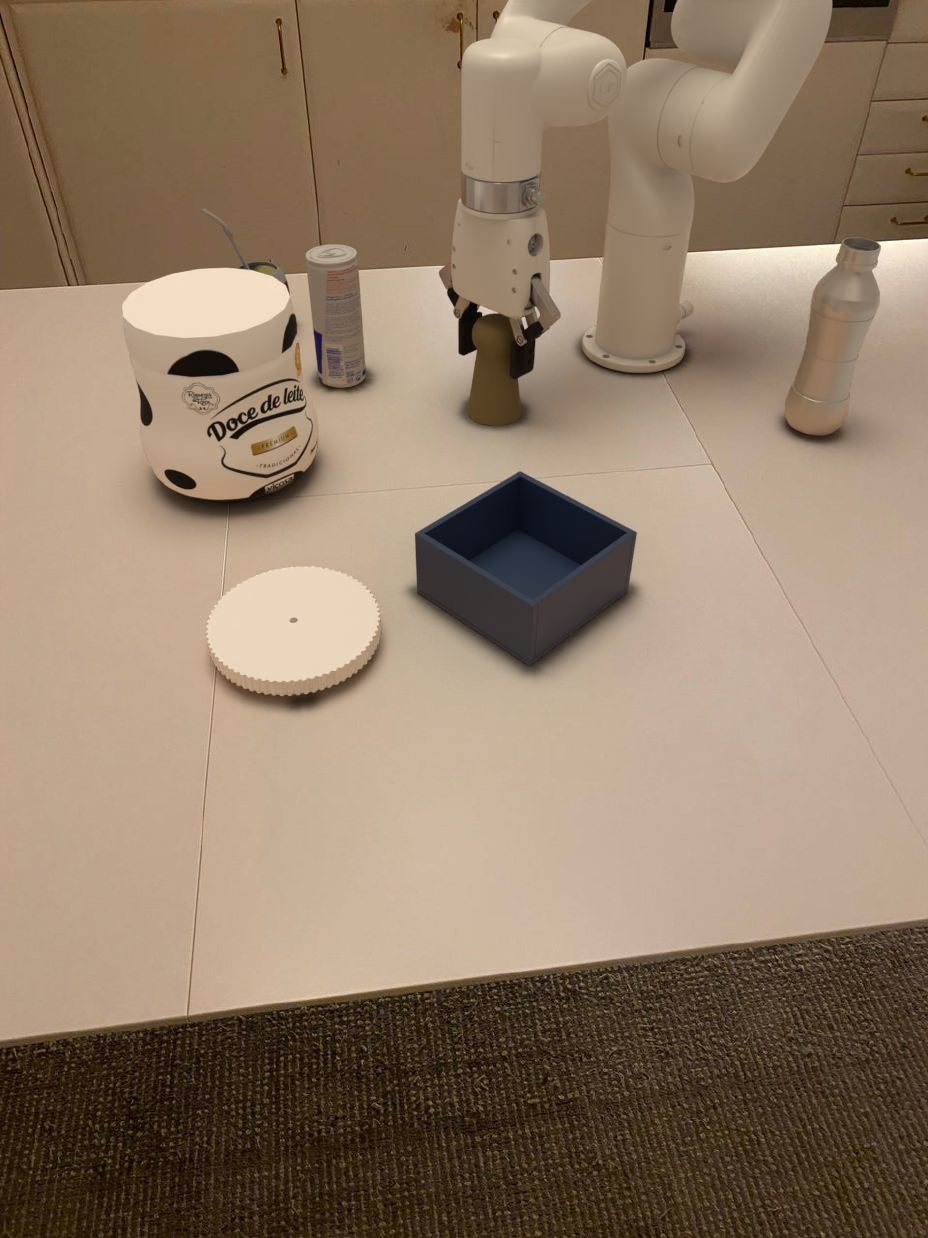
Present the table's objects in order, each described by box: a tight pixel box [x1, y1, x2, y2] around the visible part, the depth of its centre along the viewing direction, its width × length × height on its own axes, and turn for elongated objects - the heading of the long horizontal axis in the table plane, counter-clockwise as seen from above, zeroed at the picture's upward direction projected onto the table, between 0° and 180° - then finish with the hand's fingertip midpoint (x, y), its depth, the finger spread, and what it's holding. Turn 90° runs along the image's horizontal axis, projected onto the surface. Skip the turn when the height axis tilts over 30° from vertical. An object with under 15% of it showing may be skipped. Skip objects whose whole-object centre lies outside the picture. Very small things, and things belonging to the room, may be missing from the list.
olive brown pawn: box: [467, 312, 522, 427], centre depth 103 cm, size 6×6×11 cm
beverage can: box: [305, 243, 367, 389], centre depth 107 cm, size 6×6×15 cm
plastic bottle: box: [783, 236, 882, 437], centre depth 98 cm, size 6×7×20 cm
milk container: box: [121, 267, 319, 503], centre depth 92 cm, size 17×17×18 cm
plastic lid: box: [205, 565, 382, 697], centre depth 78 cm, size 14×14×2 cm
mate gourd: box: [201, 207, 291, 296], centre depth 117 cm, size 8×8×15 cm
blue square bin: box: [414, 470, 638, 667], centre depth 82 cm, size 13×13×6 cm
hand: (495, 361), depth 103 cm, fingers open, 6 cm apart
